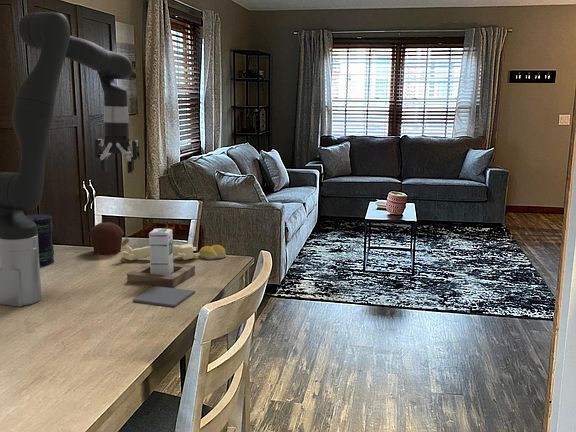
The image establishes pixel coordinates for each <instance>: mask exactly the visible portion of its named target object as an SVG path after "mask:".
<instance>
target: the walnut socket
mask: <svg viewBox="0 0 576 432" xmlns="http://www.w3.org/2000/svg"><path fill="white" fill-rule="evenodd" d="M195 274H196V266H195V265H190V264H181V263H174V273H173V274H171V275H169V276H165V275H157V274H150V262H148V263H146V264H144V265H142V266H140V267H138V268H136V269H134V270H132V271H130V272H128V273H126V279H127V281H126V282H127V283H131V284H137V285H138V284H139V285H147V286H154V287H155V286H160V287H168V288H175V287H176V286H178V285H179V284H182V283H183V282H184V281H186V280H187V279H189V278H191V277H192V276H193V275H195Z"/></svg>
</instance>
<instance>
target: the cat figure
mask: <svg viewBox="0 0 576 432" xmlns="http://www.w3.org/2000/svg"><path fill="white" fill-rule="evenodd" d="M129 243H130V238H128V237H125V238H123V239H122V244H121V247H123V248H124V249H126V250H127V251H121V252H122V254H121V255H120V256H121V263H125V262H126V260H128V261H135V260H138V259H147V258H148V257H149V258H150V248H149V245H148V246H143V247H138V248H132V247H130V246H129ZM199 255H200V253H199V251H198V247H197V246H193V244H192V243H185V244H181V245H180V244H178V245H176V244H173V257H174V256H180V257H181V259H182V260H183V261H185V260H187V261H188V260H190V259H197V258H199Z"/></svg>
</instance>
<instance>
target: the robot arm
mask: <svg viewBox="0 0 576 432" xmlns="http://www.w3.org/2000/svg"><path fill="white" fill-rule="evenodd" d="M70 27H71V26H70V22H69V20H68V18H67V17H66V16H65V14H63V13H61V12H56V11H38V12H37V11H36V12H30V13H27V14H24V16H22V17H21V18H20V21H19V24H18V32H19V35H20V36H19V37H21V40H22V41H23V42H24V44H26V45H27V46H28V47H30V48H32V49H34V50H40V53H39V57H38V60H37V63H36V64H35V66H34V67H33V69H32V70H31V71H30V73H29V74H28V75H27V76H26V78H25V79H24V80H23V82H22V83H21V84H20V86H19V87H18V89H17V90H16V94H15V97H14V103H13V107H12V112H11V113H12V114H11V123H12V126H13V130H14V133H15V136H16V138H17V140H18V143H19V148H20V151H21V152H20V162H19V163H20V165H19V168H18V172H10V171H4V172H0V305H5V306H10V307H11V306H12V307H18V308H19V307H23V306H27V305H31V304H35V303H38V302H39V301H41V300H42V296H43V295H42V282H41V269H40V268H41V267H40V263H39V247H38V230H37V225H36V223H34V222H33V221H31V220H30V219H28V218H27V217H26V216H25V215H26V214H25V213H24V212H23V211H27V212H28V211H33V210H34V209H36V208H37V206H39V204H40V202H41V200H42V197H43V191H44V183H45V170H46V169H45V167H46V157H47V156H46V155H47V150H48V149H47V148H48V142H49V137H50V131H51V126H52V121H53V115H54V111H55V104H56V96H57V92H58V88H59V87H58V86H59V83H60V77H61V72H62V69H63V67H64V62H65V59H66V58H67V59H69V60H71V61H74V62H76V63H79V64H81V65H83V66H85V67H86V68H89V69H91V70H93V71H95V72H96V71H97V74H98V78H99V81H100V85H101V87H102V91H103V105H104V107H103V109H104V110H103V129H104V130H103V131H104V133H103V134H104V138H103V139H102V138H96V139H95V140H94V157H95V158H96V159H99V160H100V169H101V171H102V172H103V173H106V172H108V170H109V165H108V162H109V161H108V157H110V155H112V154H122V155H123V156H124V157H125V158H126V160H127V162H126V163H127V174H133V172H134V171H135V161H137V160H140V159H141V155H140V153H141V152H140V142H139V140H138V139H135V140H130V124H129V123H130V118H129V110H128V107H129V106H128V90H127V89H126V88H124V87H121V86H118V85H117V83H116V80H126V79H129V78H130V77H131V75H132V73H133V71H134V70H133V69H134V67H133V63H132V62H131V59H129V57H127V56H126V55H124V54H121V53H119V52H115V51H112V50H108V49H105V48H104V47H102V46H100V45H98V44H97V43H94V42H93V41H90V40H88V39H85V38H81V37H78V36H77V37H76V36H73V35H71V28H70ZM103 146H105V149H104V150H103ZM129 146H130V147H131V148H132V150H130V149H129Z"/></svg>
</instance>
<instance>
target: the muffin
mask: <svg viewBox="0 0 576 432" xmlns="http://www.w3.org/2000/svg"><path fill="white" fill-rule="evenodd" d="M88 235H89V236H90V238H91V241H92V242H91V243H92V247H93V253H94V254H96V255H99V256H102V255H104V256H111V255H116V254H118V253H121V252H122V251H121V250H122V241H123V235H125V232H124V231H123V229H122V228H121V227H120V226H119V225H118V224H116V223H115V222H110V221H106V222H105V221H103V222H99V223H97V224H96V225H93V226H92V227H91V229H89V232H88Z"/></svg>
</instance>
